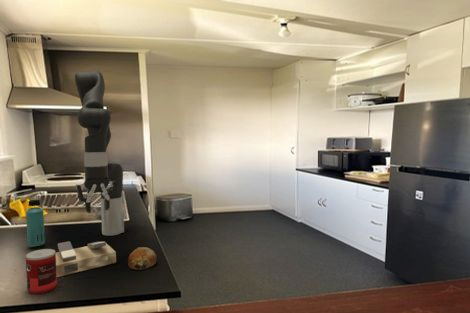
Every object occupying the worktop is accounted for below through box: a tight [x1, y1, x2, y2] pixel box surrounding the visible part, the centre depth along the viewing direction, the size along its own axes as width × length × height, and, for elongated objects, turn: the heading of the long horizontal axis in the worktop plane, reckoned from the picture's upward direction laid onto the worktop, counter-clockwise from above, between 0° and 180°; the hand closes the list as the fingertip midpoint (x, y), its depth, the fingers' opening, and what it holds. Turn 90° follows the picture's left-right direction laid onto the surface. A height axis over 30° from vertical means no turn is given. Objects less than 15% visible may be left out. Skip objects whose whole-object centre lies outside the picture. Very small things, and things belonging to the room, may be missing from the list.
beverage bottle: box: [25, 199, 46, 247], centre depth 132 cm, size 6×7×20 cm
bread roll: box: [127, 246, 157, 271], centre depth 116 cm, size 10×10×8 cm
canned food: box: [25, 248, 58, 295], centre depth 98 cm, size 8×8×11 cm
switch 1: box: [57, 240, 76, 261], centre depth 113 cm, size 4×10×2 cm, turn 38°
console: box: [55, 243, 117, 278], centre depth 116 cm, size 20×13×4 cm, turn 128°
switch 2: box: [87, 241, 107, 250], centre depth 119 cm, size 4×10×2 cm, turn 38°
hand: (97, 211), depth 115 cm, fingers open, 5 cm apart
